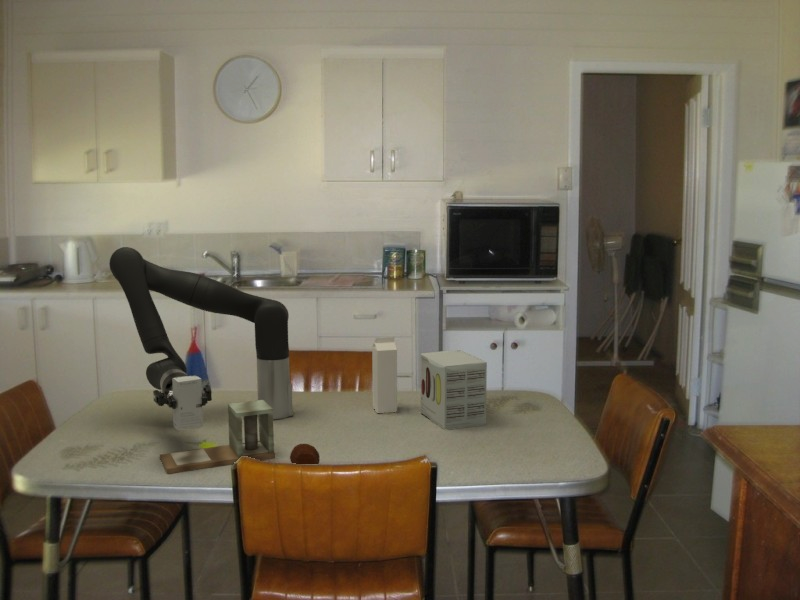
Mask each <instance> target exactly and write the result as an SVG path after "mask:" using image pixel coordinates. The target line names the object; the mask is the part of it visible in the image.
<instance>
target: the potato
mask: <svg viewBox="0 0 800 600" xmlns="http://www.w3.org/2000/svg"><path fill="white" fill-rule="evenodd" d="M289 460H290V462H291V464H292V463H296V464H320V454H319V452H318V450H317V449H316V447H315V446H314V445H312V444H308V443H299V444H296V445H295V446H294V447H293V448H292V450H291V452H290V456H289Z"/></svg>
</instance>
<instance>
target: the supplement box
mask: <svg viewBox="0 0 800 600" xmlns="http://www.w3.org/2000/svg"><path fill="white" fill-rule="evenodd" d="M487 363H488V362H487V361H486V360H483V359H482V358H478V357H476V356H475V355H472V354H470V353H468V352H466V351H464V350H461V349H457V350H443V351H432V352H423V353H420V414H422V415H423V416H425V417H426V416H427V417H426V418H428V419H430V421H432V422H433V423H435V424H436V425H437V426H439V427H440V428H441V429H443V430H444V429H448V430H454V429H453V428H456V429H462V428H461V427H464V428H470V426H472V427H478V426H477V425H479V426H485V424H486V425H487V375H488V374H487V373H488V371H487V369H488V364H487Z"/></svg>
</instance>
